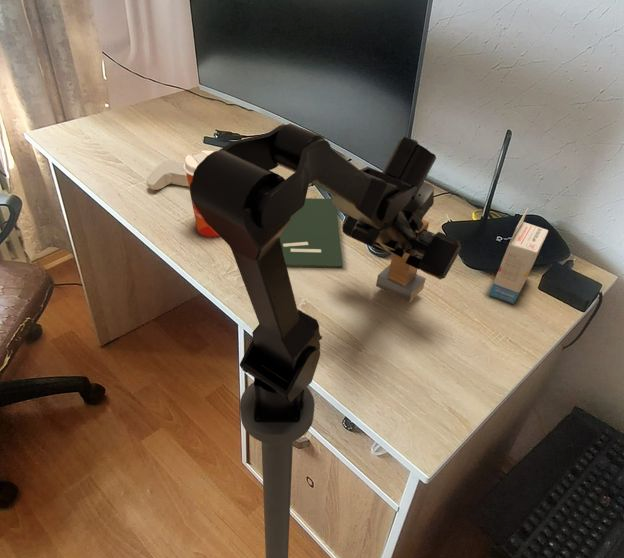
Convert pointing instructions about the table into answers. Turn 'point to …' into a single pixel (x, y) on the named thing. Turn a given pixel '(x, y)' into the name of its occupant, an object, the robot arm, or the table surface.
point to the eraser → (402, 276)
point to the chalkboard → (313, 236)
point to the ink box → (518, 261)
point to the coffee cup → (189, 168)
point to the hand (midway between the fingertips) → (410, 251)
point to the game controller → (167, 175)
